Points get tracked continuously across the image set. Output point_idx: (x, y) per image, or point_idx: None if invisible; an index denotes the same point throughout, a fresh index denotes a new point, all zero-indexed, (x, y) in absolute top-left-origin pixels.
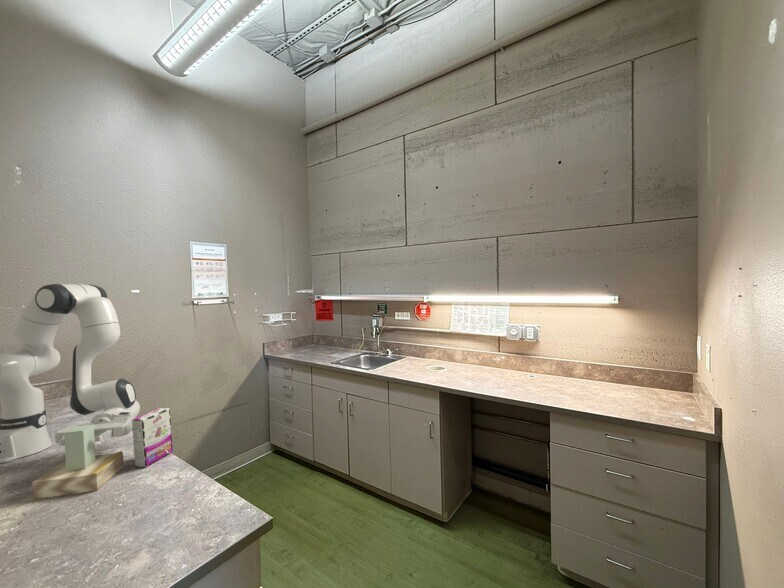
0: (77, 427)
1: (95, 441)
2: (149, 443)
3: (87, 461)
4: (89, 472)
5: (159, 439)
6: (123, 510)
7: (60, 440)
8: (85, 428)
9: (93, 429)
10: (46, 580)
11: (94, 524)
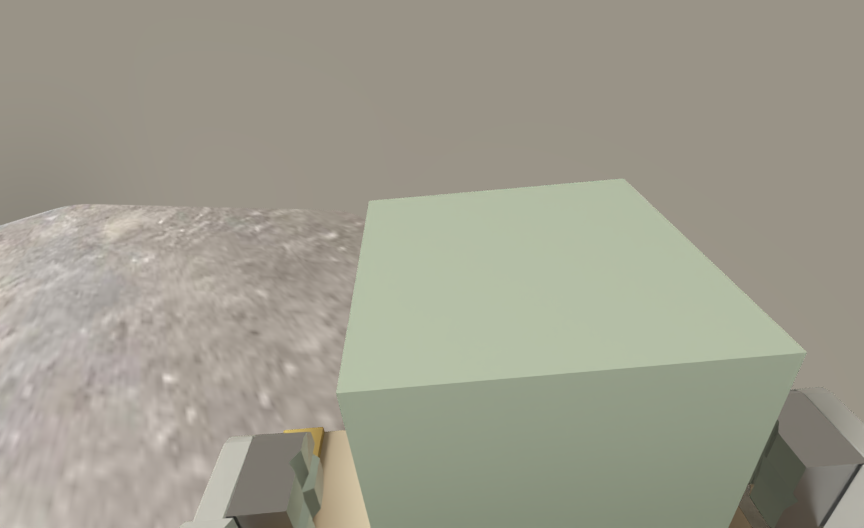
0: (619, 285)
1: (317, 482)
2: None
3: None
4: (349, 467)
5: None
6: (156, 345)
7: (809, 388)
8: (383, 239)
9: (358, 466)
10: (276, 209)
11: (237, 302)
